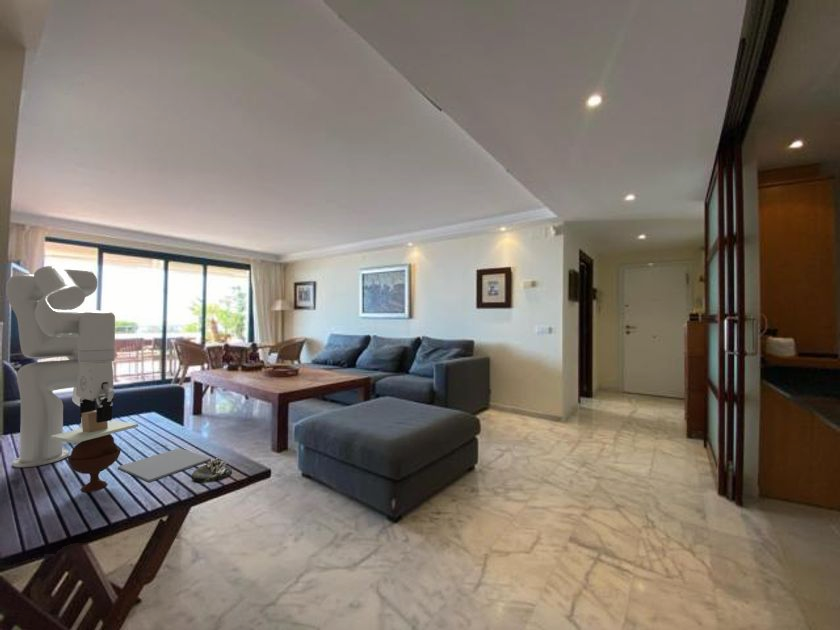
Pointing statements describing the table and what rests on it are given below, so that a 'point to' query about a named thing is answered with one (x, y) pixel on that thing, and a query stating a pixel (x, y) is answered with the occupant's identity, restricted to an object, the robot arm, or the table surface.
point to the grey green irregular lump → (212, 472)
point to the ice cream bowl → (94, 459)
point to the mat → (163, 464)
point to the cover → (92, 429)
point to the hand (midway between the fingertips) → (95, 418)
